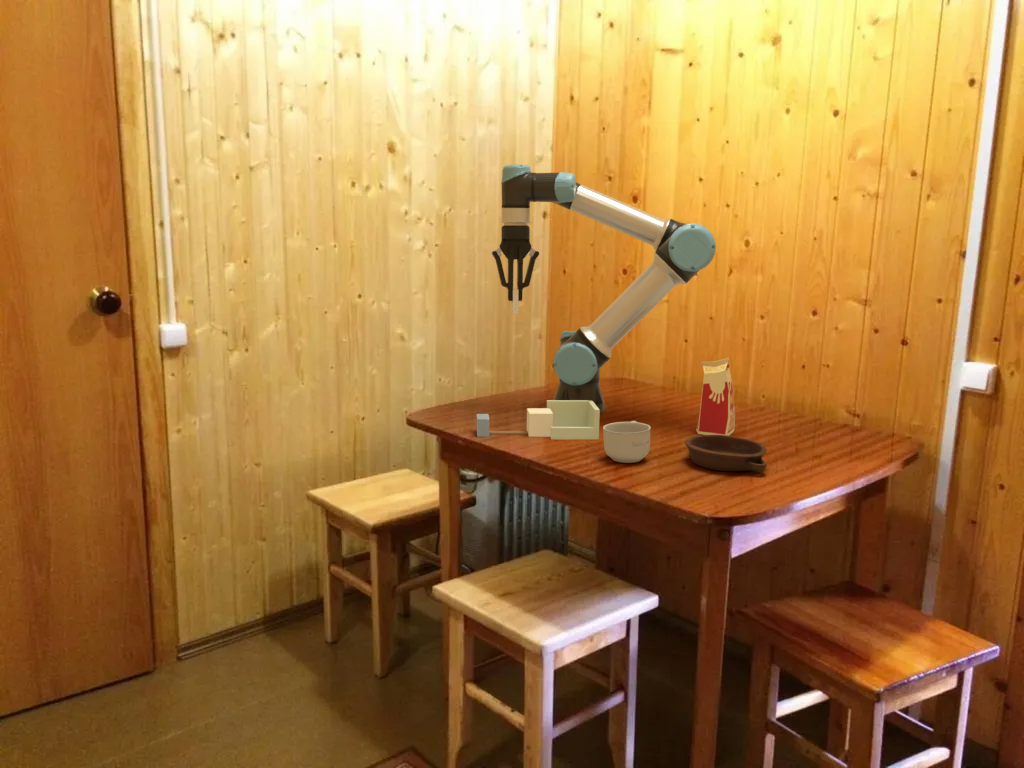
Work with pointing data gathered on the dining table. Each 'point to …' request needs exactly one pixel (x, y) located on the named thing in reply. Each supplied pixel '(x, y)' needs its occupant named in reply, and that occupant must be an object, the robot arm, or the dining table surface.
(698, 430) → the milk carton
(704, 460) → the dish
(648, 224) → the robot arm
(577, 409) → the shelf lane
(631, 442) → the teacup
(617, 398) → the dining table surface
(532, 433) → the tethered block
